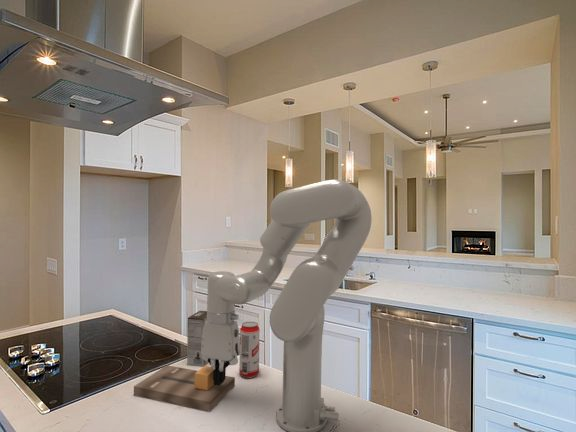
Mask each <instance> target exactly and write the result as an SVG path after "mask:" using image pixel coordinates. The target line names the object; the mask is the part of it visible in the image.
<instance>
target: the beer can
mask: <svg viewBox="0 0 576 432" xmlns="http://www.w3.org/2000/svg"><path fill="white" fill-rule="evenodd" d="M260 332H261V330H260V327H259V324H258V322H257V321H245V322H242V323H241V327H240V329H239V338H240V354H239V361H238V363H239V367H238V368H239V369H238V370H239V374H240V376H241V377H242V378H245V379H253V378H255V377H257V375H258V374H259V373H260V334H261V333H260Z"/></svg>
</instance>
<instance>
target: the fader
mask: <svg viewBox="0 0 576 432" xmlns="http://www.w3.org/2000/svg"><path fill="white" fill-rule="evenodd" d="M196 371H197V372H196V373H195V388H198V389H203V390H208V389H209V388H211V387H212V386H213V385H214V380H213V370H212V369H211V366H210V365H205V366H201V368H200V369H199V370H196Z"/></svg>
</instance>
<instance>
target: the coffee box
mask: <svg viewBox="0 0 576 432" xmlns="http://www.w3.org/2000/svg"><path fill="white" fill-rule="evenodd" d="M206 320H207V310H198V311H197V312H196V313H193V314H192V315H190V316H188V317H187V339H186V341H187V342H186V344H187V345H186V347H187V349H186V350H187V353H186V359H187V361H186V363H187V365H188V366H198V367H204V366H207V364H209V362H208V361H205V360H203V359H202V354H201V342H202V333H203V328H204V324H205V321H206Z"/></svg>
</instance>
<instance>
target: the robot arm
mask: <svg viewBox="0 0 576 432" xmlns="http://www.w3.org/2000/svg"><path fill="white" fill-rule="evenodd" d="M269 213H270V217H271V219H272V220H271V221H270V223H269V224H268V226H267V227H266V229H265V230H264V231H263V233H262V234H261V236H260V239H259V242H260V245H261V246H262V247H263V248H262V252H261V256H260V258H259V259H258V261H257V263H256V264H255V266H254V267H253V268H252V269H251V271H248V272H245V273H240V274H237V275H235V273H234V272H232V271H227V270H226V271H225V270H224V271H222V270H220V271H213V272H211V273H209V275H208V277H207V294H206V295H207V297H206V298H207V302H206V304H207V305H206V306H207V307H206V311H207V320H206V321H205V324H204V328H203V333H202V342H201V354H202V359H203V360H205V361H208V364H209V366H210V367H211V369H212V370H213V380H214V385H217V386H220V385H221V384H222V383H223V382H224V381H225V376H227V375H226V373H227V372H226V371H227V370H226V369H227V368H228V366H236V365H237V364H238V363H239V359H238V356H240V329H239V324H238V319H240V318H239V317H240V316H239V314H236V310H235V306H236V305H245V304H247V303H251V302H252V301H254V300H256V299H258V298H260V297H263V295H265V294H266V293H267V292H268V291H269V290H270V288H271V287H273V284H274V283H275V281H277V279H278V277H279V276H280V274H281V272H282V271H283V269H284V266H285V263H286V261H287V260H288V259H287V258H288V256H289V254H290V253H291V251H292V250H293V249H294V247H295V245H296V244H297V243H298V241H299V240H300V238H301V237H302V235H304V233H305V232H306V230H307V229H308V228H309V226H310V225H311V224H312V223H317V222H321V221H327V220H333V219H335V223H334V224H333V227H332V228H331V229H330V230H329V232H328V234H327V235H326V236H325V238H324V241H323V242H322V244H321V246H320V247H319V248H318V250H317V251H316V253H315V254H314V255H313V256H312V257H310V258H307V259H305V260H304V261H302V262H301V263H299V264H298V265H297V266H296V267H295V268H294V270H293V271H292V273H291V274H290V276H289V277H288V279H287V281H286V283H285V285H284V286H283V288H282V290H281V292H280V293H279V295H278V296H277V298H276V300H275V302H274V303H273V305H272V308H271V310H270V313H269V325H270V329H271V331H272V333H273V335H274V336H275V337H276V338H277V339H279V340H280V341H283V359H282V360H283V361H282V362H283V363H282V365H283V366H282V369H283V370H282V404H281V405H280V406H279V407H278V409H277V410H276V414H275V419H276V422H277V424H278V426H279V427H280V428H282V429H283V430H284V431H287V432H319V431H321V430H322V429H324V427H325V426H326V425H327V421H328V420H329V421H331V422H336V423H337V422H339V416H340V415H339V412H338V411H336V407H335V406H328V405H326V403H325V398H324V397H322V360H323V359H322V356H323V354H322V352H323V335H324V324H325V315H326V314H325V306H324V305H326V302H327V300H328V299H329V298H330V297H331V296H332V295H333V294H334V293H335V292H337V291H338V289H339V288H340V286H341V285H342V283H343V282H344V279H345V277H346V275H347V274H348V272H349V270H350V268H351V267H352V265H353V264H354V262H355V260H356V258H357V256H358V255H359V254H360V251H361V249H362V248H363V247H364V245H365V242H366V241H367V238H368V236H369V234H370V231H371V227H372V221H373V219H372V217H373V216H372V210H371V206H370V205H369V201H368V200H367V198H366V197H365V195H364V194H363V192H361V190H360V189H358V188H357V186H355V185H353V184H351V183H349V182H347V181H345V180H342V179H331V178H330V179H327V180H322V181H319V182H314V183H310V184H306V185H303V186H297V187H295V188H291V189H286V190H284V191H281V192H279V193H278V194H276V196H275V197H274V198H273V199H272V201H271V204H270V207H269Z"/></svg>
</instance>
